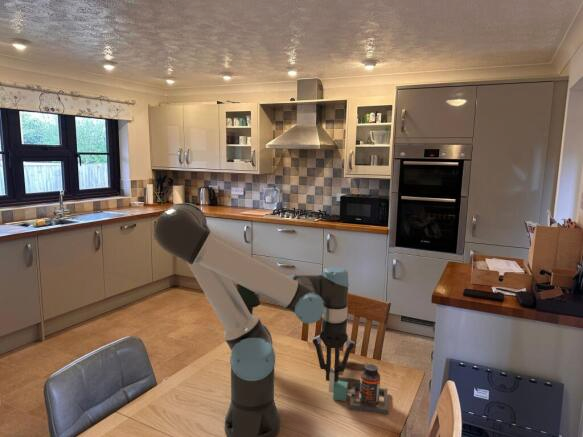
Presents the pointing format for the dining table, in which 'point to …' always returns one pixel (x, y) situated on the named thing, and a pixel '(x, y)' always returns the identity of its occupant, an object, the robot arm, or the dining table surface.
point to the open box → (351, 372)
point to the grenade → (248, 297)
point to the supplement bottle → (369, 385)
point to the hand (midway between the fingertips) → (331, 390)
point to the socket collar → (368, 407)
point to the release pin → (341, 391)
